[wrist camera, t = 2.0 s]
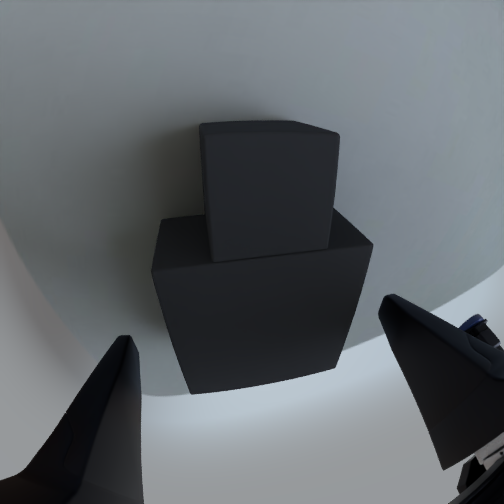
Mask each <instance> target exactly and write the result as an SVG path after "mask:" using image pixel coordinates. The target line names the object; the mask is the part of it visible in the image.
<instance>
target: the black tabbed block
mask: <svg viewBox="0 0 504 504" xmlns="http://www.w3.org/2000/svg"><path fill="white" fill-rule="evenodd" d="M199 132H200V150H201V166H202V180H203V193H204V205H205V215H196V216H187V217H178V218H170V219H162V220H161V224H160V228H159V233H158V238H157V243H156V248H155V253H154V258H153V264H152V269H151V273H152V277H153V281H154V285H155V288H156V292H157V296H158V299H159V303H160V306H161V310H162V313H163V316H164V320H165V323H166V326H167V329H168V332H169V335H170V338H171V342H172V345H173V347H174V350H175V353H176V356H177V359H178V362H179V365H180V367H181V370H182V373H183V376H184V378H185V381H186V383H187V386H188V389H189V391H190V394H192V395H193V394H202V393H212V392H220V391H228V390H235V389H241V388H247V387H253V386H259V385H264V384H270V383H275V382H280V381H285V380H289V379H294V378H298V377H303V376H307V375H310V374H315V373H319V372H323V371H326V370H330V369H333V368H335V367H336V365H337V362H338V360H339V357H340V354H341V352H342V349H343V346H344V343H345V341H346V338H347V335H348V332H349V329H350V326H351V323H352V320H353V317H354V314H355V311H356V307H357V304H358V301H359V298H360V294H361V291H362V287H363V284H364V280H365V277H366V273H367V269H368V265H369V261H370V257H371V253H372V249H373V244H372V243H371V242H370V241H369V240H368V239H367V238H366V237H365V236H364V235H363V234H362V233H361V232H360V231H359V230H358V229H357V228H355V227H354V226H353V225H352V224H351V223H350V222H349V221H348V220H347V219H346V218H344V217H343V216H342V215H341V214H340V213H339V212H338V211H337V210H335V209H334V208H333V205H334V197H335V187H336V178H337V167H338V156H339V143H340V135H339V134H338V133H336V132H333V131H329V130H326V129H322V128H319V127H315V126H312V125H308V124H304V123H300V122H296V121H274V120H265V121H229V122H212V123H202V124H200V126H199Z"/></svg>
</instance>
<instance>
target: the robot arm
mask: <svg viewBox="0 0 504 504" xmlns="http://www.w3.org/2000/svg"><path fill="white" fill-rule="evenodd" d="M378 315H379V319H380V321H381V324H382V326H383V329H384V331H385V334H386V336H387V339H388V341H389V344H390V347H391V349H392V351H393V353H394V355H395V358H396V360H397V362H398V364H399V366H400V368H401V370H402V372H403V374H404V376H405V378H406V381H407V383H408V385H409V387H410V389H411V391H412V394H413V396H414V398H415V400H416V402H417V405H418V407H419V409H420V412H421V414H422V417H423V419H424V422H425V424H426V427H427V429H428V431H429V434H430V437H431V440H432V442H433V445H434V448H435V450H436V453H437V456H438V458H439V461H440V464H441V467H442V469H443V470H446V469H447V468H449V467H451V466H453V465H455V464H456V463H458V462H460V461H461V460H463V459H465V458H466V457H468V456H470V455H471V454H473V453H474V454H475V455H474V456H473V457H472V458H471V459H469V460H468V461H467V462H466V463H465V464H464V465H463V468H462V472H461V476H460V479H459V482H458V486H457V490H458V492H459V494H460V495H459V496H457V497H456V498H455V499H454V500H452V501H451V502H450V503H448V504H504V350H503V348H502V347H501V346H500V341H499V339H498V338H497V337H496V335H495V334H494V333H493V332H492V331H491V330H490V329H489V327H488V326H487V325H486V323H487V321H488V320H487V319H484V320H482V321H481V322H479V323H477V324H476V325H474V326H472V327H471V328H469V329H467V330H465V331H462V330H461V329H459V328H457V327H455V326H453V325H451V324H450V323H448V322H446V321H444V320H442V319H441V318H439V317H437V316H435V315H433V314H431V313H430V312H428V311H426V310H424V309H422V308H420V307H418V306H417V305H415V304H413V303H411V302H409V301H407V300H405V299H403V298H402V297H400V296H398V295H396V294H389V295H386V296H384V298H383V300H382V303H381V306H380V308H379V311H378ZM66 413H67V414H66ZM66 413H65V414H64V416H63V417H62V419H61V420H60V422H59V424H58V425H57V426H56V428H55V429H54V431H53V432H52V434H51V435H50V436H49V438H48V439H47V440H46V442H45V443H44V445H43V446H42V447H41V449H40V450H39V451H38V452H37V454H36V455H35V456H34V458H33V459H32V460H31V462H30V463H29V464H28V465H27V467H26V468H25V469H24V470H23V471H21V472H20V473H18V474H17V475H14V476H12V477H9V478H6V479H3V480H0V504H144V503H143V502H144V499H143V485H142V467H141V381H140V362H139V352H138V349H137V347H136V345H135V343H134V341H133V339H132V337H131V336H130V335H120V336H118V337H117V338H116V340H115V341H114V343H113V344H112V345H111V347H110V348H109V349H108V351H107V352H106V354H105V355H104V356H103V358H102V359H101V361H100V362H99V363H98V365H97V367H96V368H95V369H94V371H93V372H92V373H91V375H90V377H89V378H88V379H87V381H86V382H85V384H84V385H83V387H82V388H81V390H80V391H79V393H78V394H77V396H76V397H75V399H74V400H73V402H72V403H71V405H70V406H69V408H68V410H67V411H66Z"/></svg>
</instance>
